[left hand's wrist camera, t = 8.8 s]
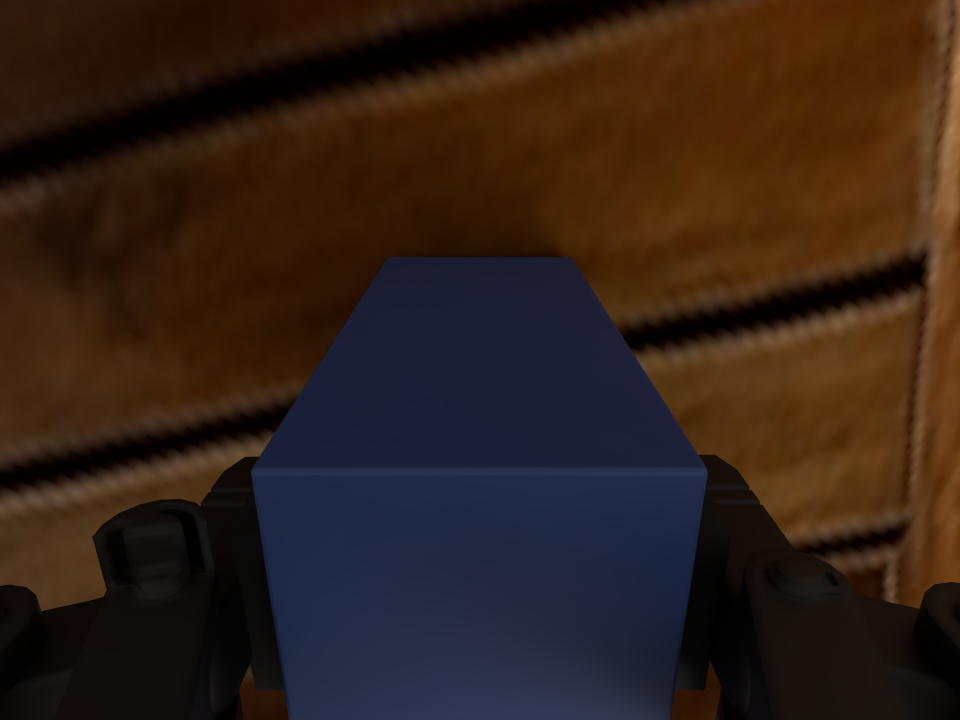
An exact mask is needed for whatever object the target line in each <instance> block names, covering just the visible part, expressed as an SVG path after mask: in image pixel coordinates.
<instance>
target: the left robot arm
mask: <svg viewBox="0 0 960 720" xmlns="http://www.w3.org/2000/svg"><path fill="white" fill-rule="evenodd" d="M698 456H699V457H700V459H701V460H702V462H703V463H704V465H705V467H706V468H707V472H708V474H707V481H706V487H705V494H704V500H703V507H702V514H701V520H700V527H699V533H698V540H697V546H696V553H695V559H694V566H693V572H692V579H691V585H690V592H689V598H688V605H687V611H686V618H685V625H684V631H683V638H682V644H681V651H680V657H679V664H678V670H677V677H676V683H675V690H705V685H706V679H707V674H708V668H709V662H710V661H711V663H712V666H713V668H714V670H715V673H716V675H717V677H718V680H719V682H720V685H721V687H722V689H721V694H720V699H719V704H718V710H717V715H716V720H960V583H955V582H949V583H942V584H935V585H933V586H932V587H931V588H930V589H928V590H927V591H926V592H925V594H924V597H923V600H922V603H921V606H920V609H918V608H914V607H909V606H904V605H900V604H895V603H890V602H886V601H881V600H877V599H872V598H868V597H865V596H861V595H858V594H855V592H854V589H853V588H852V586H851V585H850V584H849V582H848V581H847V579H846V578H845V576H844V575H843V574H841V573H840V572H839V571H837V570H836V569H835V568H834V567H832V566H831V565H830V564H828V563H827V562H824V561H822V560H820V559H818V558H816V557H814V556H812V555H810V554H807V553H803V552H799V551H795V550H794V548H793V547H792V545H791V544H790V543H789V541H788V540H787V538H786V537H785V536H784V534H783V533H782V532H781V530H780V529H779V527H778V526H777V525H776V523H775V522H774V520H773V519H772V518H771V516H770V515H769V514H768V512H767V511H766V509H765V508H764V507H763V505H760V503H759V502H760V501H759V500H758V498H757V497H756V496H755V494H754V493H753V491H752V490H749V486H748V484H747V483H746V482H745V480H744V479H743V478H742V476H741V475H740V473H739V472H738V471H737V469H735V468H734V467H732V466H731V465H729V464H728V463H726V462H725V461H723V460H722V459H720V458H719V457H717V456H716V455H698ZM258 459H259V457H244V458H243V459H241V460H240V461H239V462H237V463H236V464H234V465H233V466H231V467H230V468H228V469H227V470H225V471H224V472H223V473H222V475H221V476H220V477H219V479H218V480H217V482H216V483H215V484H214V486H213V487H212V488H211V492H209V493H208V494H207V495H206V497H205V498H204V500H203V501H202V502H201V507H200V506H199V505H198V504H196V503H195V502H190V501H186V500H182V499H170V500H158V501H153V502H149V503H145V504H140V505H138V506H135V507H133V508H130V509H128V510H126V511H123V512H121V513H119V514H117V515H116V516H114V517H113V518H111V519H110V520H108V521H107V522H105V523H104V524H103V525H102V526H101V527H100V528H99V529H98V531H97V532H96V533H95V534H94V536H93V541H94V545H95V548H96V552H97V555H98V559H99V563H100V566H101V570H102V574H103V577H104V581H105V585H106V588H107V591H106V593H105V595H104V597H101V598H98V599H94V600H91V601H87V602H82V603H77V604H73V605H68V606H64V607H59V608H54V609H50V610H45V611H41V609H40V606H39V603H38V600H37V597H36V595H35V594H34V593H33V592H32V591H30V590H29V589H28V588H27V587H21V586H15V585H4V586H0V720H242V719H243V712H242V705H241V699H240V694H239V688H240V685H241V683H242V681H243V678H244V676H245V674H246V671H247V669H248V666H249V664H250V662H251V668H252V673H253V679H254V685H255V690H284V684H283V677H282V671H281V664H280V658H279V651H278V645H277V638H276V632H275V625H274V619H273V612H272V606H271V599H270V593H269V586H268V580H267V573H266V567H265V560H264V554H263V547H262V541H261V534H260V528H259V521H258V515H257V508H256V502H255V495H254V489H253V482H252V476H251V471H252V468H253V466H254V465H255V463H256V462H257V460H258Z"/></svg>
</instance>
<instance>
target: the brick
mask: <svg viewBox="0 0 960 720" xmlns="http://www.w3.org/2000/svg"><path fill="white" fill-rule="evenodd" d="M707 474H708V472H707V468H706V467H705V465H704V463H703V462H702V460H701V459H700V457H699V456H698V454H697V452H696V451H695V449H694V448H693V446H692V445H691V443H690V442H689V440H688V438H687V437H686V435H685V434H684V432H683V431H682V429H681V428H680V426H679V424H678V423H677V421H676V420H675V418H674V417H673V415H672V414H671V412H670V410H669V409H668V407H667V406H666V404H665V403H664V401H663V400H662V398H661V396H660V395H659V393H658V392H657V390H656V389H655V387H654V386H653V384H652V382H651V381H650V379H649V378H648V376H647V375H646V373H645V372H644V370H643V368H642V367H641V365H640V364H639V362H638V361H637V359H636V357H635V356H634V354H633V353H632V351H631V350H630V348H629V347H628V345H627V343H626V342H625V340H624V339H623V337H622V336H621V334H620V333H619V331H618V329H617V328H616V326H615V325H614V323H613V322H612V320H611V319H610V317H609V315H608V314H607V312H606V311H605V309H604V308H603V306H602V305H601V303H600V301H599V300H598V298H597V297H596V295H595V294H594V292H593V291H592V289H591V287H590V286H589V284H588V283H587V281H586V280H585V278H584V277H583V275H582V273H581V272H580V270H579V269H578V267H577V266H576V264H575V262H574V261H573V259H572V258H570V257H389V258H387V259H386V261H385V262H384V264H383V265H382V267H381V269H380V270H379V272H378V273H377V275H376V276H375V278H374V279H373V281H372V283H371V284H370V286H369V287H368V289H367V290H366V292H365V293H364V295H363V297H362V298H361V300H360V301H359V303H358V304H357V306H356V307H355V309H354V311H353V312H352V314H351V315H350V317H349V318H348V320H347V322H346V323H345V325H344V326H343V328H342V329H341V331H340V332H339V334H338V336H337V337H336V339H335V340H334V342H333V343H332V345H331V346H330V348H329V350H328V351H327V353H326V354H325V356H324V357H323V359H322V360H321V362H320V364H319V365H318V367H317V368H316V370H315V371H314V373H313V374H312V376H311V378H310V379H309V381H308V382H307V384H306V385H305V387H304V388H303V390H302V392H301V393H300V395H299V396H298V398H297V399H296V401H295V403H294V404H293V406H292V407H291V409H290V410H289V412H288V413H287V415H286V417H285V418H284V420H283V421H282V423H281V424H280V426H279V427H278V429H277V431H276V432H275V434H274V435H273V437H272V438H271V440H270V441H269V443H268V445H267V446H266V448H265V449H264V451H263V452H262V454H261V455H260V457H259V459H258V460H257V462H256V463H255V465H254V466H253V468H252V471H251V476H252V482H253V489H254V495H255V502H256V508H257V515H258V521H259V528H260V534H261V541H262V547H263V554H264V560H265V567H266V573H267V580H268V586H269V593H270V599H271V606H272V612H273V619H274V625H275V632H276V638H277V645H278V651H279V658H280V664H281V671H282V677H283V684H284V690H285V697H286V703H287V710H288V716H289V720H670V716H671V709H672V703H673V696H674V690H675V683H676V677H677V670H678V664H679V657H680V651H681V644H682V638H683V631H684V625H685V618H686V611H687V605H688V598H689V592H690V585H691V579H692V572H693V566H694V559H695V553H696V546H697V540H698V533H699V527H700V520H701V514H702V507H703V500H704V494H705V487H706V481H707Z"/></svg>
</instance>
